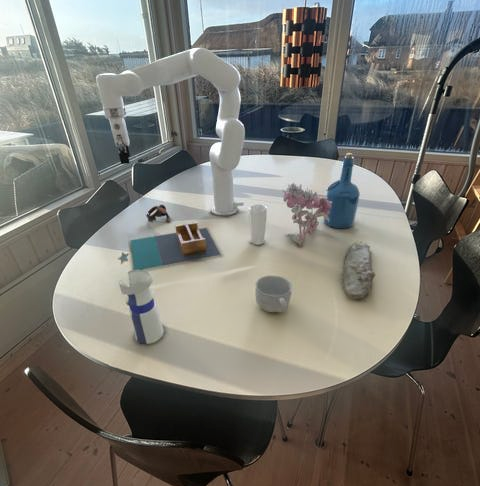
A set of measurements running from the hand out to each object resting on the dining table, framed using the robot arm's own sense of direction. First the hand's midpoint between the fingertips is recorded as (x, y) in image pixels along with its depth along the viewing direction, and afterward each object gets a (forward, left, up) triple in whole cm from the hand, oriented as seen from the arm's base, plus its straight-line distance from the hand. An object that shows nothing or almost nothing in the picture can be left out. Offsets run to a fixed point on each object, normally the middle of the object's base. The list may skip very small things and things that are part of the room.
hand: (125, 160), depth 129 cm
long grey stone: (-70, +64, -30) cm, 99 cm away
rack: (-18, +25, -29) cm, 42 cm away
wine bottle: (-84, +28, -30) cm, 94 cm away
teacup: (-34, +72, -30) cm, 85 cm away
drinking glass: (-44, +32, -30) cm, 62 cm away
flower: (-65, +32, -30) cm, 79 cm away
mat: (-11, +25, -30) cm, 40 cm away
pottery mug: (-9, -3, -30) cm, 31 cm away
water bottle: (+3, +70, -30) cm, 76 cm away
